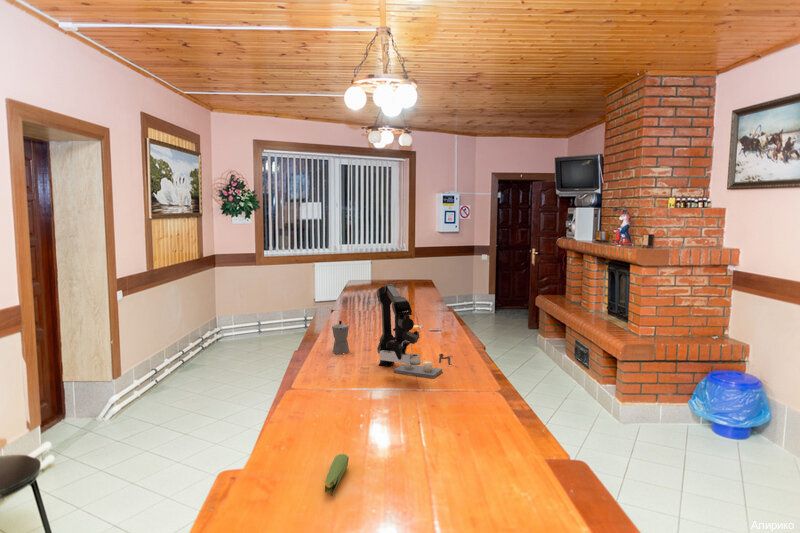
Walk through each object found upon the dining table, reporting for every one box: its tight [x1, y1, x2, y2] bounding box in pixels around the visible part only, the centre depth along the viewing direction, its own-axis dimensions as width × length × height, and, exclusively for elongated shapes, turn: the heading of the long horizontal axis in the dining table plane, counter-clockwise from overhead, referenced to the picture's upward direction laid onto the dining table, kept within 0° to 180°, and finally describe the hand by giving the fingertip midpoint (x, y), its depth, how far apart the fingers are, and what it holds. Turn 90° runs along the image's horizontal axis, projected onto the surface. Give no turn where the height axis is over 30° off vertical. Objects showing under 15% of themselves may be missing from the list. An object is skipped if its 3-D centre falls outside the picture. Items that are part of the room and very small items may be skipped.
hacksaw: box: [438, 353, 457, 368], centre depth 270 cm, size 24×10×2 cm, turn 174°
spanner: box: [379, 350, 422, 366], centre depth 242 cm, size 20×5×4 cm, turn 64°
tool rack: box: [393, 360, 443, 379], centre depth 252 cm, size 21×11×6 cm, turn 64°
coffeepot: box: [331, 320, 350, 355], centre depth 290 cm, size 15×9×18 cm, turn 8°
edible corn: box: [324, 453, 349, 496], centre depth 152 cm, size 5×20×5 cm
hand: (401, 358), depth 242 cm, fingers closed on spanner, 3 cm apart
